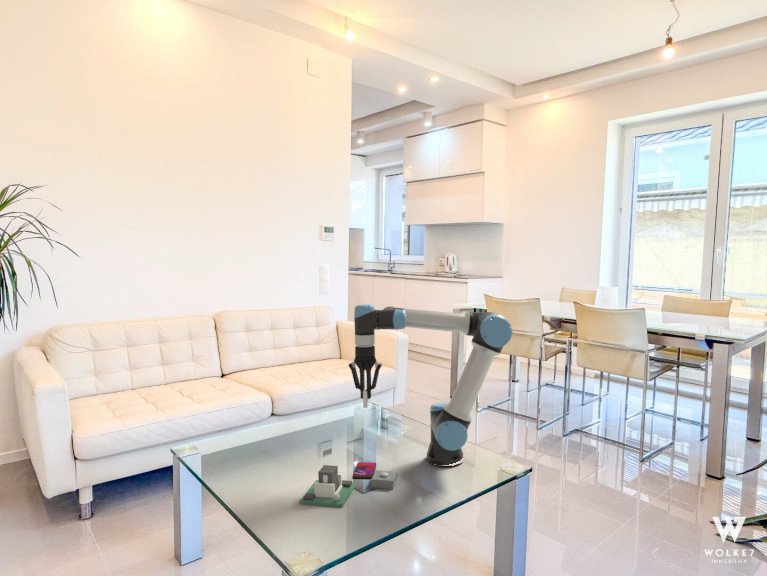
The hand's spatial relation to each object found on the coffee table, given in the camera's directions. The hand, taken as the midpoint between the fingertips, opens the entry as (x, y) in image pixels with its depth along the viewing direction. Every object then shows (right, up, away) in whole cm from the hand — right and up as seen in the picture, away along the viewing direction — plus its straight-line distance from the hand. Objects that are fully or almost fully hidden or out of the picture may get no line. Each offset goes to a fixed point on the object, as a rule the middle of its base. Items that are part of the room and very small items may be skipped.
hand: (366, 406), depth 184 cm
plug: (-13, -26, -15) cm, 32 cm away
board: (-13, -27, -15) cm, 33 cm away
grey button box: (+7, -27, -7) cm, 28 cm away
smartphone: (-1, -27, +5) cm, 27 cm away
